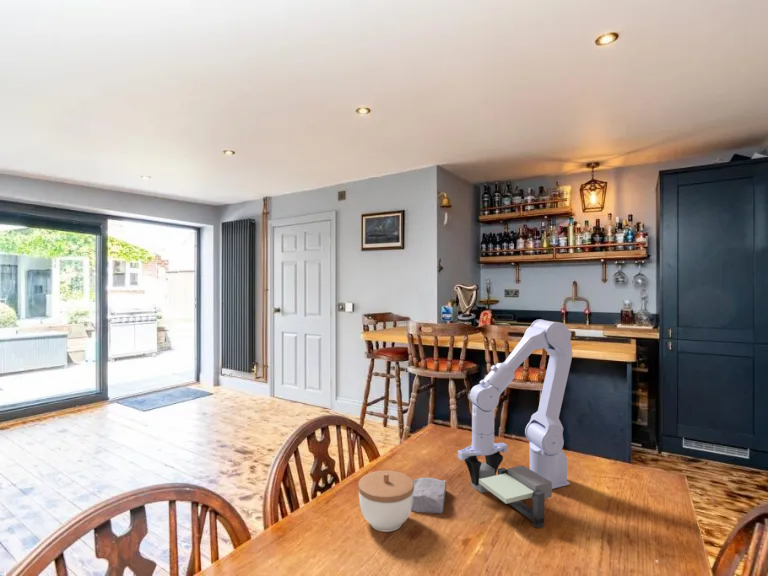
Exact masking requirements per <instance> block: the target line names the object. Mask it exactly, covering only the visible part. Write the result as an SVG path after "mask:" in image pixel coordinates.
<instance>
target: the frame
mask: <svg viewBox="0 0 768 576" xmlns="http://www.w3.org/2000/svg"><path fill="white" fill-rule="evenodd" d="M505 473H506V474H508V468H506V467H500V468H499V467H498V469H497V475H500V474H505ZM496 497H497V496H496ZM544 497H545V493H544V492H542V491H540V490H538V491H534V492H533V499H532V508H531V507H530V506H529V505H527V504H526V503H524V502H523V501H522V500H519V501H515V502H511V503H507V504H508V505H510V506H511V507H513V508H514V509H515V510H517V511H518V512H519V513H521V514H522V515H523V516H524V517H526V518H527V519H529V520H530V521H531V522H532V526H533V527H535V528H536V529H541V528H544V527H545V499H544ZM497 500H499V501H500V502H503V501H502V500H501V499H499V498H498V497H497Z"/></svg>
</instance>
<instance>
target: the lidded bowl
mask: <svg viewBox="0 0 768 576" xmlns="http://www.w3.org/2000/svg"><path fill="white" fill-rule="evenodd" d="M413 480H414V479H412V478H411V476H409V475H408V474H405V473H404V472H400V471H396V470H387V469H386V470H376V471H372V472H369V473H367V474H364V475H363V476H361V478H360V479H359V481H358V485H357V486H358V500H359V506H360V507H359V508H360V511H361V514H362V515H363V517H364V519H365V520H366V521H367V522H368V523H369V525H370V526H371V528H373V529H374V530H375V531H378V532H382V533H383V532H384V533H389V532H394V531H397V530H398V529H400V528H401V527H402V525H403V524H404V523H405V522H406V521H407V520H408V518H409V517H410V515H411V512H412V511H411V509H412V505H413V491H414V482H413Z"/></svg>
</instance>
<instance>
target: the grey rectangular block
mask: <svg viewBox="0 0 768 576" xmlns="http://www.w3.org/2000/svg"><path fill="white" fill-rule="evenodd" d="M491 476H496V475H495V469H494V468H492V467H491V466H489V465H488V464H486V461H485V462H481V466H480V471H479V479H482V478H487V477H491ZM470 486H471V487H472V488H474V489H475V490H476V491H478V492H479V493H480V494H482V493H487V492H490V491H489V490H487V489H486V488H485V487H483V486H482V485H481V484H478V485H477V486H476V485H474V484H473V483H472V481H471V480H470Z"/></svg>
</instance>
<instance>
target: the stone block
mask: <svg viewBox="0 0 768 576" xmlns="http://www.w3.org/2000/svg"><path fill="white" fill-rule="evenodd" d="M412 480H413V482H414V491H413V505H412V509H411V512H416V513H430V514H443V512H444V506H445V500H446V499H445V498H446V492H447V481H446V480H445V479H444V480H440V479H439V478H433V477H420V478H415V479H412Z"/></svg>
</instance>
